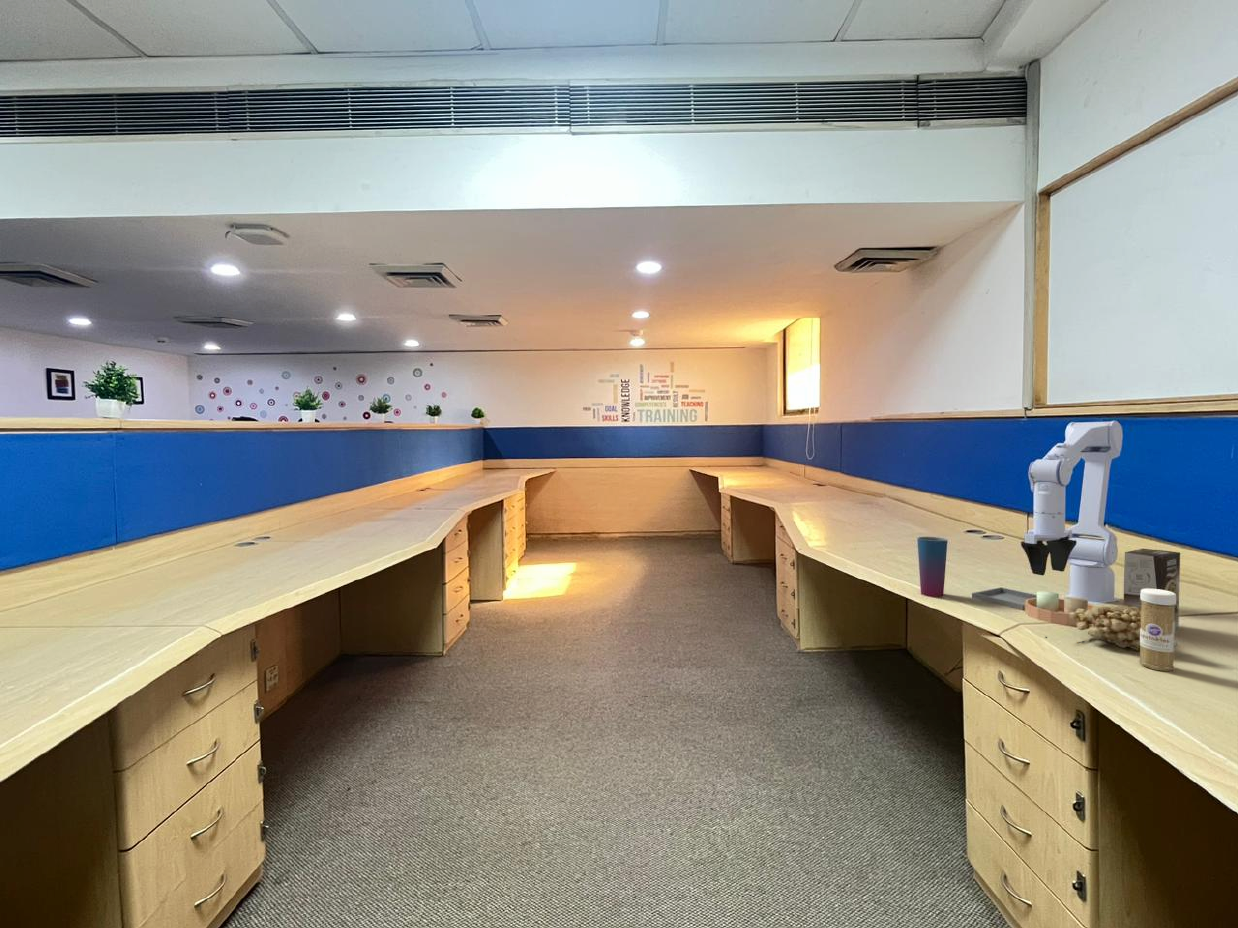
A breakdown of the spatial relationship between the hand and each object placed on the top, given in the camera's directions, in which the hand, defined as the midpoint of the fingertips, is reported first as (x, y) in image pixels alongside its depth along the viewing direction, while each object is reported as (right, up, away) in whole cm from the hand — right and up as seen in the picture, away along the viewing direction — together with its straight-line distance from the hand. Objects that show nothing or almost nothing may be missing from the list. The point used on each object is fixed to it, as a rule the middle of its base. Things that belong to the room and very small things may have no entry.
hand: (1048, 572), depth 129 cm
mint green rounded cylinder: (0, -9, 0) cm, 9 cm away
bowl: (+1, -10, -2) cm, 10 cm away
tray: (-1, -10, +11) cm, 15 cm away
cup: (-17, -10, +18) cm, 26 cm away
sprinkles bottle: (-3, -11, -29) cm, 31 cm away
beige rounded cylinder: (+2, -9, -5) cm, 11 cm away
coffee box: (+15, -10, -8) cm, 20 cm away
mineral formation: (0, -11, -17) cm, 20 cm away
